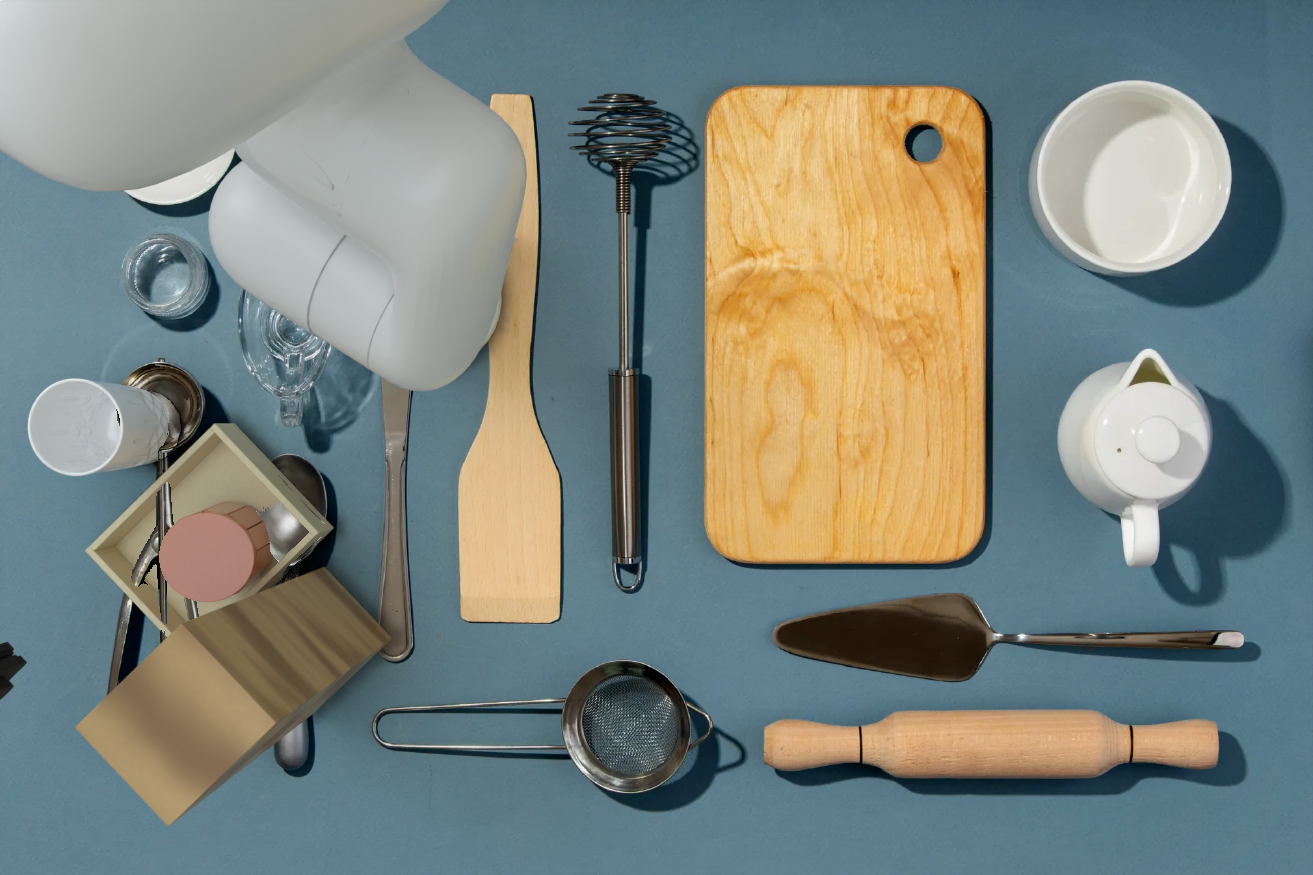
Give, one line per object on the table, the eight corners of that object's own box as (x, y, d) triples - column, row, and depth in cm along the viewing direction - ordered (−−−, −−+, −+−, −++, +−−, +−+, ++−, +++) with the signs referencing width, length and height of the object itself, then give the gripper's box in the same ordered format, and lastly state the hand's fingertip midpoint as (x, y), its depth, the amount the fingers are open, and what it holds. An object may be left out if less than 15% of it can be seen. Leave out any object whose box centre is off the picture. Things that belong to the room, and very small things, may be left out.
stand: (324, 566, 85) (181, 623, 61) (392, 638, 85) (276, 723, 61) (246, 641, 85) (74, 727, 61) (314, 713, 85) (168, 827, 61)
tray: (234, 423, 85) (214, 423, 81) (334, 527, 85) (318, 532, 81) (109, 545, 85) (84, 550, 82) (208, 649, 85) (187, 659, 82)
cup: (273, 550, 78) (292, 537, 84) (198, 494, 77) (222, 485, 83) (215, 620, 78) (238, 602, 84) (139, 565, 77) (167, 551, 83)
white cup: (192, 387, 85) (127, 383, 75) (185, 473, 85) (118, 480, 75) (108, 379, 85) (31, 373, 75) (100, 465, 85) (23, 471, 75)
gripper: (-157, 879, 34) (137, 720, 53) (-432, 585, 34) (-44, 529, 53) (-296, 1015, 35) (44, 809, 53) (-569, 724, 35) (-135, 619, 53)
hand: (0, 669), depth 53 cm, fingers closed
